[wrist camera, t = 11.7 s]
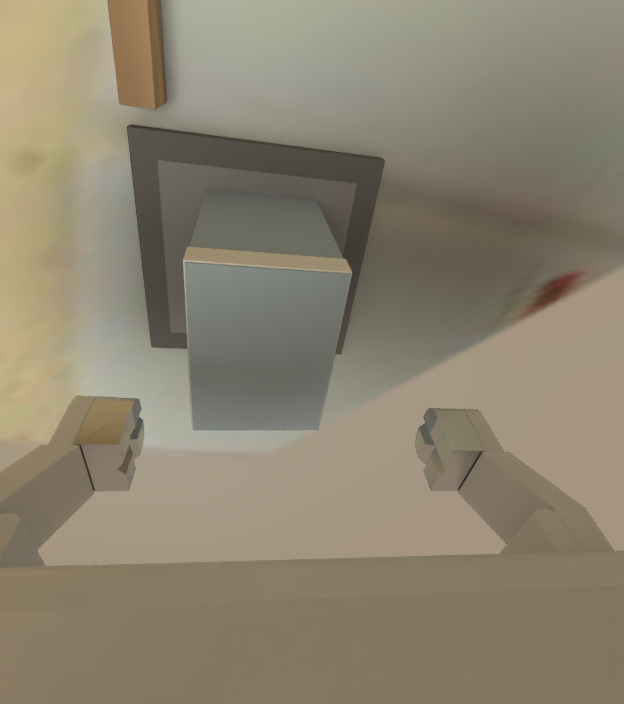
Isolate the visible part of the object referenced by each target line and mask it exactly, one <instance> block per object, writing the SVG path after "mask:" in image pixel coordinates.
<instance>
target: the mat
mask: <svg viewBox="0 0 624 704" xmlns="http://www.w3.org/2000/svg"><path fill="white" fill-rule="evenodd" d="M127 133H128V142H129V151H130V160H131V169H132V178H133V187H134V196H135V204H136V213H137V222H138V231H139V240H140V249H141V258H142V267H143V276H144V285H145V294H146V303H147V312H148V321H149V330H150V339H151V347H156V348H183V349H188V345H187V326H186V307H185V288H184V269H183V258H184V255H185V252H186V248H187V247H189V246H190V243H191V239H192V236H193V232H194V229H195V226H196V222H197V219H198V215H199V212H200V209H201V205H202V202H203V199H204V195H205V192H206V188H210V189H219V190H229V191H239V192H248V193H258V194H267V195H277V196H286V197H296V198H305V199H315V200H317V202H318V205H319V207H320V209H321V211H322V213H323V215H324V218H325V220H326V222H327V224H328V226H329V228H330V231H331V233H332V235H333V237H334V239H335V241H336V244H337V246H338V248H339V250H340V252H341V254H342V257H343V259H346V260H347V262H348V264H349V266H350V269H351V271H352V275H351V280H350V285H349V290H348V294H347V299H346V304H345V309H344V313H343V318H342V323H341V328H340V332H339V337H338V342H337V347H336V352H335V354H341V353H342V348H343V344H344V339H345V335H346V330H347V326H348V322H349V317H350V313H351V308H352V304H353V299H354V295H355V291H356V286H357V282H358V277H359V273H360V268H361V264H362V259H363V255H364V251H365V246H366V242H367V237H368V233H369V228H370V224H371V220H372V215H373V211H374V206H375V202H376V197H377V193H378V188H379V184H380V180H381V175H382V171H383V166H384V162H385V160H383V159H382V158H378V157H371V156H363V155H356V154H348V153H340V152H333V151H325V150H318V149H310V148H303V147H295V146H287V145H280V144H272V143H265V142H257V141H250V140H242V139H234V138H227V137H219V136H212V135H204V134H197V133H189V132H181V131H174V130H166V129H159V128H151V127H144V126H136V125H129V126H127Z"/></svg>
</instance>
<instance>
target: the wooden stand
mask: <svg viewBox="0 0 624 704" xmlns="http://www.w3.org/2000/svg"><path fill="white" fill-rule="evenodd" d="M107 1H108V10H109V18H110V27H111V35H112V44H113V52H114V61H115V69H116V78H117V86H118V95H119V103H120V105H128V106H135V107H142V108H149V109H157V108H158V107H160V106H161V105H163V104H164V103H166V88H165V71H164V54H163V38H162V21H161V4H160V0H107Z"/></svg>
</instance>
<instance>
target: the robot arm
mask: <svg viewBox="0 0 624 704" xmlns="http://www.w3.org/2000/svg"><path fill="white" fill-rule="evenodd" d="M140 411H141V405H140V401H139V399H136V398H119V397H101V396H98V397H94V396H78V395H77V396H76V397H75V398H74V399H73V400H72V401H71V403H70V405H69V407H68V408H67V410H66V412H65V414H64V416H63V418H62V420H61V421H60V423H59V425H58V427H57V429H56V431H55V433H54V435H53V436H52V438H51V440H50V442H49V444H42V445H40V446H39V447H37V448H36V449H34V450H33V451H31V452H30V453H28V454H27V455H25V456H24V457H22V458H21V459H19V460H18V461H16V462H15V463H13V464H12V465H10V466H9V467H7V468H6V469H5V470H3V471H2V472H0V704H624V551H614V550H613V548H612V546H611V545H610V543H609V542H608V541H607V539H606V538H605V536H604V535H603V533H602V532H601V530H600V529H599V527H598V526H597V524H596V523H595V521H594V520H593V518H592V517H591V515H590V514H589V513H588V511H587V510H586V508H585V507H583V506H582V505H581V504H579V503H578V502H577V501H575V500H573V499H572V498H571V497H570V496H568V495H567V494H566V493H564V492H563V491H561V490H560V489H559V488H557V487H556V486H555V485H553V484H552V483H551V482H549V481H548V480H546V479H545V478H543V477H542V476H541V475H540V474H538V473H537V472H536V471H534V470H533V469H531V468H530V467H529V466H527V465H526V464H525V463H523V462H522V461H521V460H519V459H517V458H516V457H515V456H514V455H512V454H511V453H510V452H504V450H503V449H502V447H501V445H500V444H499V442H498V440H497V438H496V437H495V435H494V433H493V432H492V430H491V428H490V427H489V425H488V423H487V422H486V420H485V418H484V416H483V415H482V413H481V412H480V411H479V410H477V409H440V408H429V409H428V410H427V411H426V413H425V415H424V420H425V422H426V423H425V424H423V425H422V426H420V427H419V429H418V431H417V434H416V441H415V445H416V451H417V454H418V457H419V459H420V460H422V461H423V462H424V463H425V464H426V467H425V469H424V473H425V476H426V479H427V481H428V484H429V487H430V490H431V491H459V492H458V493H459V494H460V495H461V497H462V498H463V499H464V500H465V501H466V502H467V503H468V504H469V505H470V506H471V507H472V508H473V509H474V510H475V511H476V512H477V513H478V515H480V517H481V518H482V519H483V520H484V521H485V522H486V523H487V524H488V525H489V526H490V527H491V528H492V529H493V530H494V531H495V532H496V534H497V535H498V536H499V537H500V538H501V539H502V540H503V541H504V542H505V543H506V544H507V545H506V546H505V547H504V549H503V550H502V551H501V552H500V553H499V554H475V555H441V556H439V555H438V556H405V557H404V556H403V557H369V558H368V557H367V558H329V559H293V560H257V561H221V562H183V563H149V564H148V563H146V564H109V565H72V566H45V564H44V562H43V560H42V558H41V556H40V555H39V553H38V551H37V550H38V549H39V548H40V547H41V546H42V545H43V544H44V543H45V542H46V541H47V540H48V539H49V538H50V537H51V536H52V535H53V534H54V533H55V532H56V531H57V530H58V529H59V527H61V526H62V525H63V524H64V523H65V522H66V521H67V520H68V519H69V518H70V517H71V516H72V515H73V514H74V513H75V512H76V511H77V510H78V509H79V508H80V507H81V506H82V505H83V504H84V503H85V502H86V501H87V500H88V499H89V498H90V497H91V496H92V495H93V494H94V491H129V489H130V486H131V483H132V479H133V476H134V473H135V470H136V468H135V462H134V459H135V458H137V457H138V456H139V455H140V453H141V449H142V446H143V439H144V423H143V420H142V419H141V418H140V417H139V414H140Z"/></svg>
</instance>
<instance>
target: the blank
mask: <svg viewBox="0 0 624 704" xmlns="http://www.w3.org/2000/svg"><path fill="white" fill-rule="evenodd" d="M183 269H184V288H185V307H186V326H187V345H188V364H189V383H190V402H191V421H192V429H193V430H319V428H320V423H321V418H322V413H323V409H324V404H325V399H326V394H327V390H328V385H329V380H330V375H331V371H332V366H333V361H334V356H335V352H336V347H337V342H338V337H339V332H340V328H341V323H342V318H343V313H344V309H345V304H346V299H347V294H348V290H349V285H350V280H351V275H352V271H351V269H350V266H349V264H348V262H347V260H346V259H343V257H342V254H341V252H340V250H339V248H338V246H337V244H336V241H335V239H334V237H333V235H332V233H331V231H330V228H329V226H328V224H327V222H326V220H325V218H324V215H323V213H322V211H321V209H320V207H319V205H318V202H317V200H315V199H305V198H296V197H286V196H277V195H267V194H258V193H248V192H239V191H229V190H219V189H210V188H206V192H205V195H204V199H203V202H202V205H201V209H200V212H199V215H198V219H197V222H196V226H195V229H194V232H193V236H192V239H191V243H190V246H189V247H187V248H186V252H185V255H184V258H183Z"/></svg>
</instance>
